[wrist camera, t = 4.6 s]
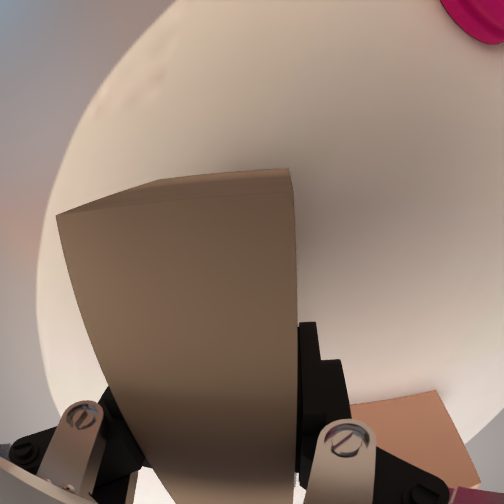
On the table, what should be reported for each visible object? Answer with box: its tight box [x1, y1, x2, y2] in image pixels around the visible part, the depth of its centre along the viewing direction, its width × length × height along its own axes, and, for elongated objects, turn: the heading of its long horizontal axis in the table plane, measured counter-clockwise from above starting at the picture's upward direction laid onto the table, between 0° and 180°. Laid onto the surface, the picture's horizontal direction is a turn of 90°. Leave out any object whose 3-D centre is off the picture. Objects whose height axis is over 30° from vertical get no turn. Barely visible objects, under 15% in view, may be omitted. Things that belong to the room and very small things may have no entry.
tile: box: [350, 390, 481, 489], centre depth 16 cm, size 2×10×10 cm, turn 94°
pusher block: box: [56, 168, 297, 504], centre depth 9 cm, size 12×4×5 cm, turn 4°
